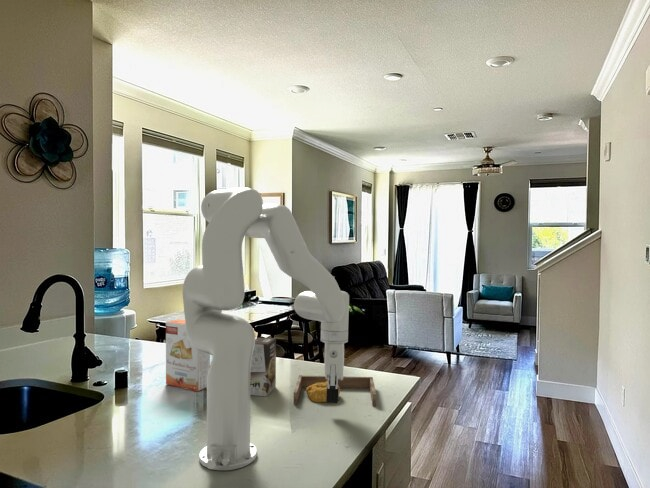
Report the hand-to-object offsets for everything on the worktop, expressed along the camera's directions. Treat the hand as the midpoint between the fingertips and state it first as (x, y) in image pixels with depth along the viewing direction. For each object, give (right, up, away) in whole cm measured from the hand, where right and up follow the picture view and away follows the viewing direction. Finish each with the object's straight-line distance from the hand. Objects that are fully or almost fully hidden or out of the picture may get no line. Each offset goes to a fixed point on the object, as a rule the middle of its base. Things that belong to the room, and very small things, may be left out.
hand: (332, 402), depth 128 cm
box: (+1, -3, +15) cm, 15 cm away
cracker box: (-47, -3, +23) cm, 52 cm away
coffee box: (-22, -3, +19) cm, 29 cm away
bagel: (-3, -4, +14) cm, 15 cm away
